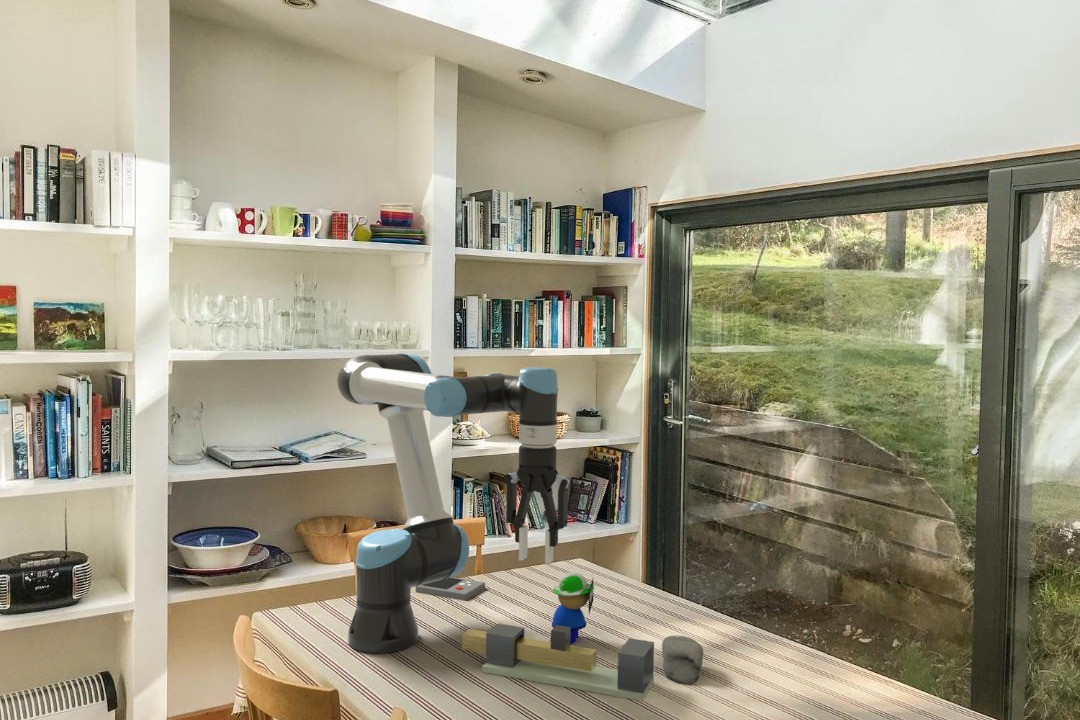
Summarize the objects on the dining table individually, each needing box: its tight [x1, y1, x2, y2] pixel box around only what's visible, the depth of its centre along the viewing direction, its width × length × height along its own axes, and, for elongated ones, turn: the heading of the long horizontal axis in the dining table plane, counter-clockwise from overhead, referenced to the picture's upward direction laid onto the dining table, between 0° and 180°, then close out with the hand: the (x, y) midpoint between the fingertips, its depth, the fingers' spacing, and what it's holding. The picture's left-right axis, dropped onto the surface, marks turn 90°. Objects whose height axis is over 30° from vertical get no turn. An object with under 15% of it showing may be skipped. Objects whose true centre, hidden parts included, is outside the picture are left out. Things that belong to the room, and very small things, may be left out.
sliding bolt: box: [461, 625, 598, 672], centre depth 172 cm, size 28×3×7 cm, turn 69°
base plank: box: [481, 660, 655, 702], centre depth 170 cm, size 33×9×1 cm, turn 69°
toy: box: [551, 571, 595, 645], centre depth 189 cm, size 9×9×15 cm
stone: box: [661, 634, 704, 685], centre depth 173 cm, size 9×9×10 cm
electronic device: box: [415, 576, 486, 601], centre depth 222 cm, size 10×2×15 cm
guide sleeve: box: [485, 623, 525, 668], centre depth 174 cm, size 6×6×6 cm
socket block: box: [617, 637, 655, 694], centre depth 164 cm, size 5×8×7 cm, turn 159°
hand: (536, 560), depth 171 cm, fingers open, 5 cm apart
